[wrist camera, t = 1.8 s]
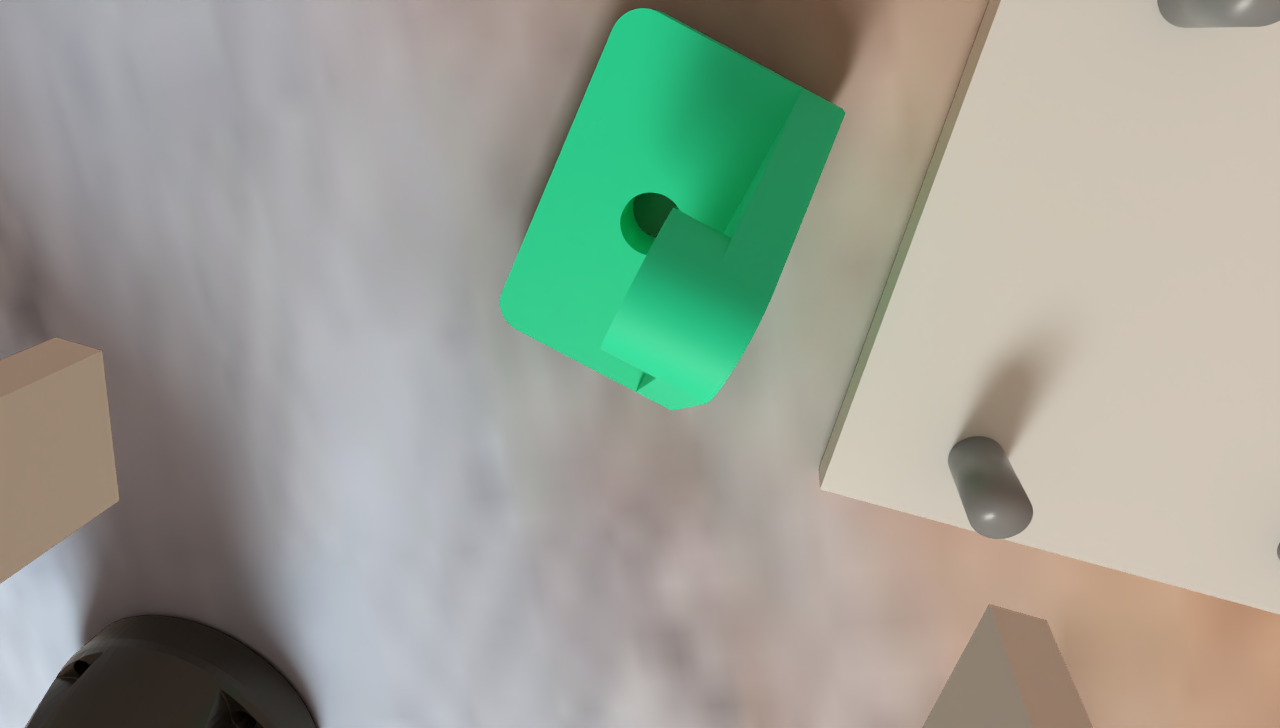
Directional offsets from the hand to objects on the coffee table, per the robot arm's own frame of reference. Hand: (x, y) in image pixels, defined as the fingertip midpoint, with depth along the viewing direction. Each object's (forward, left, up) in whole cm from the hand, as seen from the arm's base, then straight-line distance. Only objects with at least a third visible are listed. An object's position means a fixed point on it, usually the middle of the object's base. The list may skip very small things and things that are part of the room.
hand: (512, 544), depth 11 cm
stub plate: (+19, +3, -19) cm, 27 cm away
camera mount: (-1, +1, -19) cm, 19 cm away
